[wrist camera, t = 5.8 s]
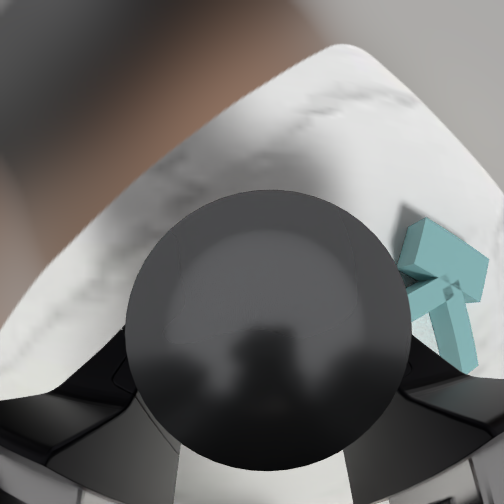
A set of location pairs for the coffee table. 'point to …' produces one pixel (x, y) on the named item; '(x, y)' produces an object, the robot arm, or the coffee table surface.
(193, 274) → the axle
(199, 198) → the coffee table surface
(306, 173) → the coffee table surface
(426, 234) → the teal y-shaped block
